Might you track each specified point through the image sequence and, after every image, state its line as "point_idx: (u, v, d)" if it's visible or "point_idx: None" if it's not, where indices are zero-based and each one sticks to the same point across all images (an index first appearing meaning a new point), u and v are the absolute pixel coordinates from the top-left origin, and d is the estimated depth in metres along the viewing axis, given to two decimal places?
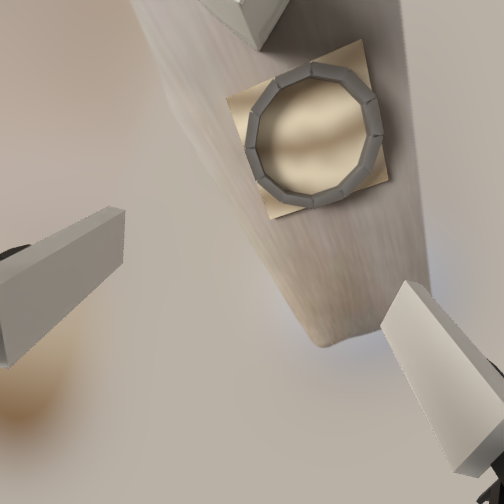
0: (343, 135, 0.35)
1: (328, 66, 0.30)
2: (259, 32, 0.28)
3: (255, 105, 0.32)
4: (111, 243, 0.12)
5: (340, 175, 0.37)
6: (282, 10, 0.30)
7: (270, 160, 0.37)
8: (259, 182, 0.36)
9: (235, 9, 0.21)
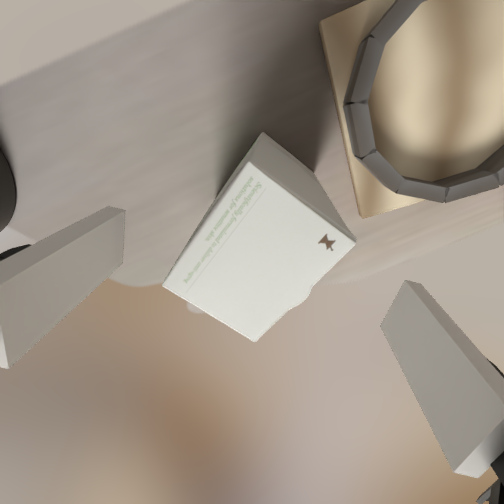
0: (454, 32, 0.21)
1: (361, 74, 0.20)
2: (316, 181, 0.22)
3: (390, 185, 0.23)
4: (111, 243, 0.12)
5: None
6: (279, 145, 0.25)
7: (459, 159, 0.24)
8: (503, 181, 0.23)
9: None
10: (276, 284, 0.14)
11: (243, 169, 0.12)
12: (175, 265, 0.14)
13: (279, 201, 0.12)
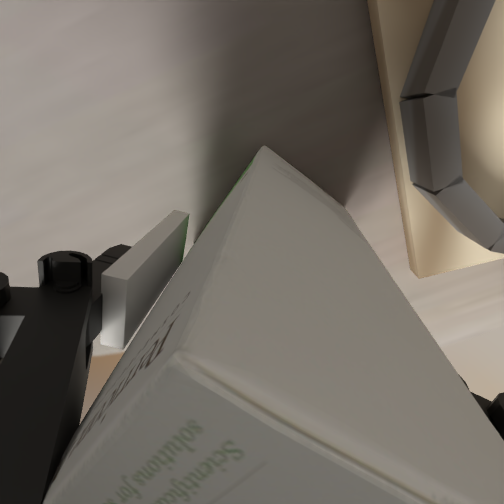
0: None
1: (450, 39, 0.11)
2: (360, 237, 0.12)
3: (481, 237, 0.14)
4: (179, 243, 0.14)
5: None
6: (292, 167, 0.15)
7: None
8: None
9: None
10: None
11: (152, 389, 0.02)
12: None
13: (326, 502, 0.03)
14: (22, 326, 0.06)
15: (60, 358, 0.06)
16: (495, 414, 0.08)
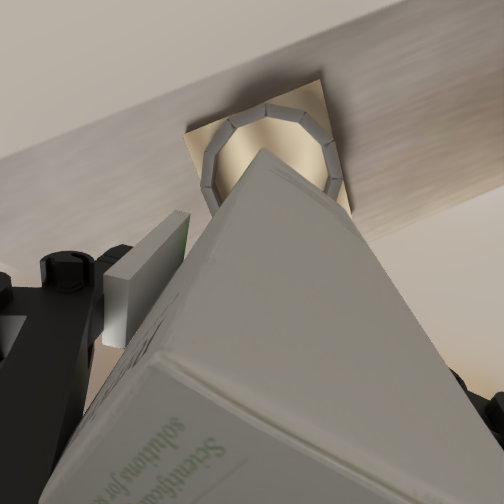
0: (266, 143, 0.33)
1: (203, 171, 0.32)
2: (358, 237, 0.12)
3: None
4: (180, 243, 0.14)
5: (309, 142, 0.32)
6: (290, 168, 0.15)
7: None
8: None
9: None
10: None
11: (135, 387, 0.02)
12: None
13: (308, 498, 0.03)
14: (24, 326, 0.06)
15: (62, 359, 0.06)
16: (493, 413, 0.08)
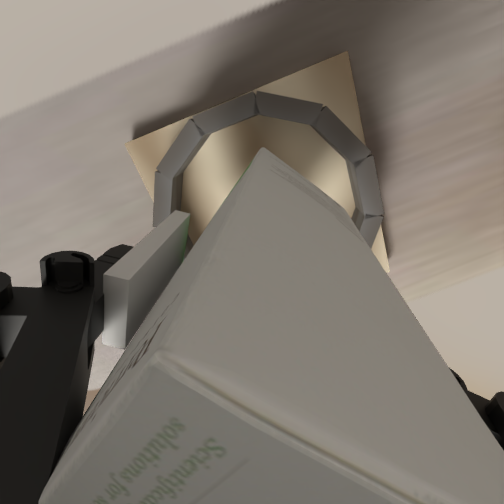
0: None
1: (156, 203, 0.20)
2: (358, 237, 0.12)
3: None
4: (180, 243, 0.14)
5: (326, 155, 0.20)
6: (290, 168, 0.15)
7: None
8: None
9: None
10: None
11: (135, 387, 0.02)
12: None
13: (308, 499, 0.03)
14: (24, 326, 0.06)
15: (62, 358, 0.06)
16: (493, 413, 0.08)
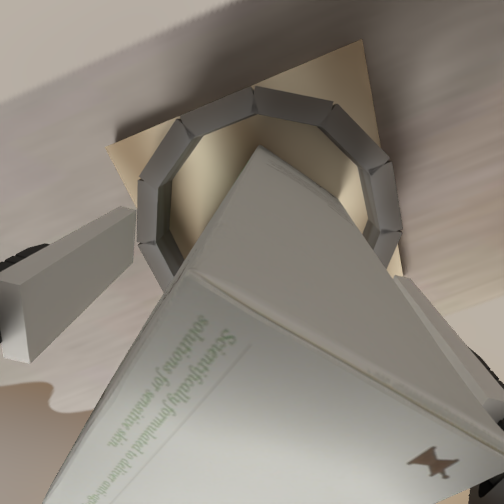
0: None
1: (140, 216, 0.17)
2: (349, 221, 0.13)
3: None
4: (123, 242, 0.12)
5: (335, 161, 0.18)
6: (286, 163, 0.16)
7: None
8: None
9: None
10: None
11: (174, 295, 0.04)
12: (58, 477, 0.06)
13: (294, 375, 0.04)
14: None
15: None
16: None
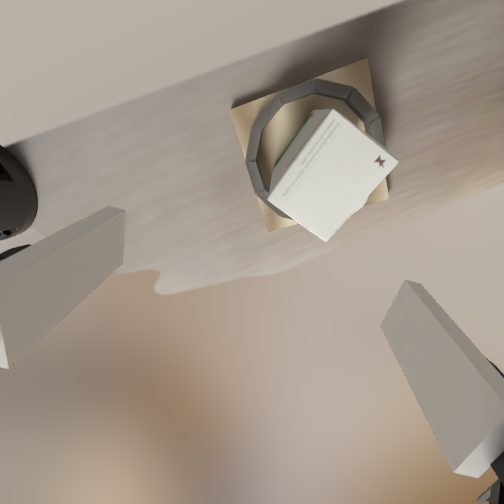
0: None
1: (249, 145, 0.33)
2: None
3: (276, 211, 0.36)
4: (111, 243, 0.12)
5: (352, 119, 0.34)
6: None
7: None
8: None
9: None
10: (345, 194, 0.22)
11: (329, 114, 0.20)
12: (278, 184, 0.22)
13: (350, 134, 0.20)
14: None
15: None
16: None
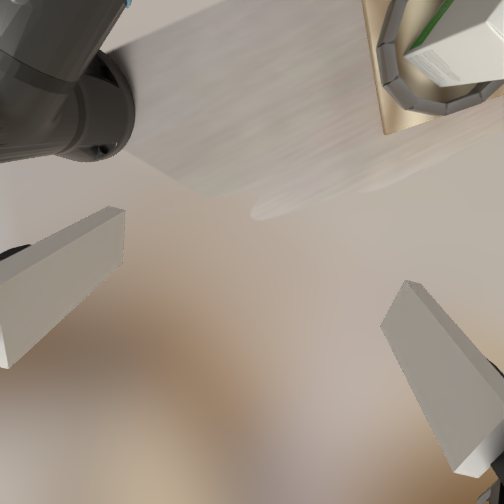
0: None
1: (390, 23, 0.31)
2: None
3: (408, 102, 0.34)
4: (111, 243, 0.12)
5: None
6: None
7: (455, 88, 0.35)
8: (485, 98, 0.34)
9: None
10: None
11: None
12: None
13: None
14: None
15: None
16: None
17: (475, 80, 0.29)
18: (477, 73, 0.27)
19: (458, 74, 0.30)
